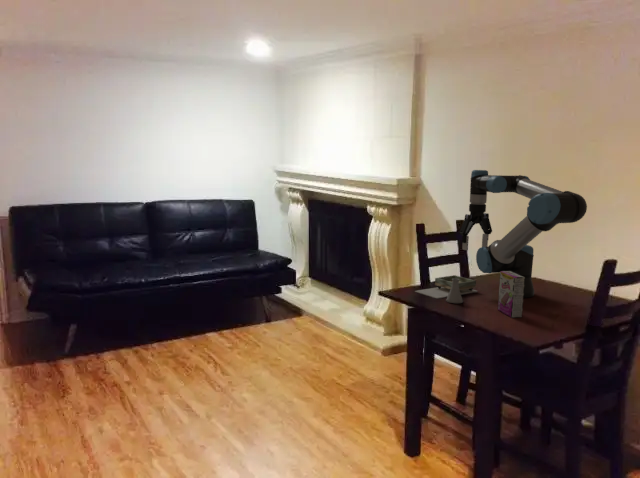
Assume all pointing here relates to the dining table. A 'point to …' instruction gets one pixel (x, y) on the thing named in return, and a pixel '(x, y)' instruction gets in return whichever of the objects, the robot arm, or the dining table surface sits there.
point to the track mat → (441, 292)
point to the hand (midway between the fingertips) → (474, 248)
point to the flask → (454, 292)
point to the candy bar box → (511, 294)
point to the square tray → (447, 282)
